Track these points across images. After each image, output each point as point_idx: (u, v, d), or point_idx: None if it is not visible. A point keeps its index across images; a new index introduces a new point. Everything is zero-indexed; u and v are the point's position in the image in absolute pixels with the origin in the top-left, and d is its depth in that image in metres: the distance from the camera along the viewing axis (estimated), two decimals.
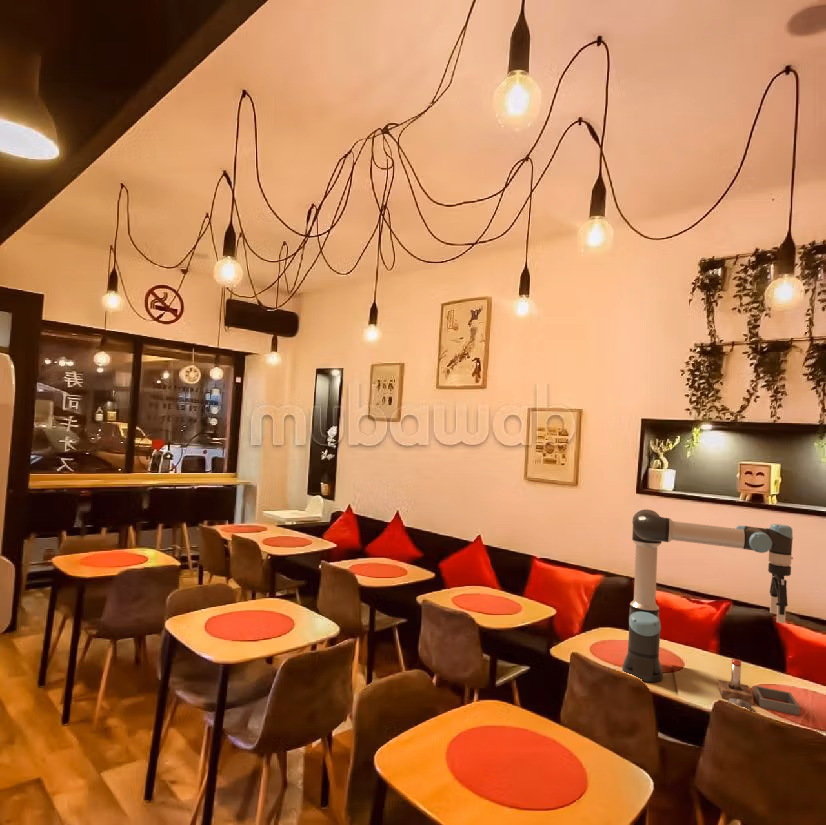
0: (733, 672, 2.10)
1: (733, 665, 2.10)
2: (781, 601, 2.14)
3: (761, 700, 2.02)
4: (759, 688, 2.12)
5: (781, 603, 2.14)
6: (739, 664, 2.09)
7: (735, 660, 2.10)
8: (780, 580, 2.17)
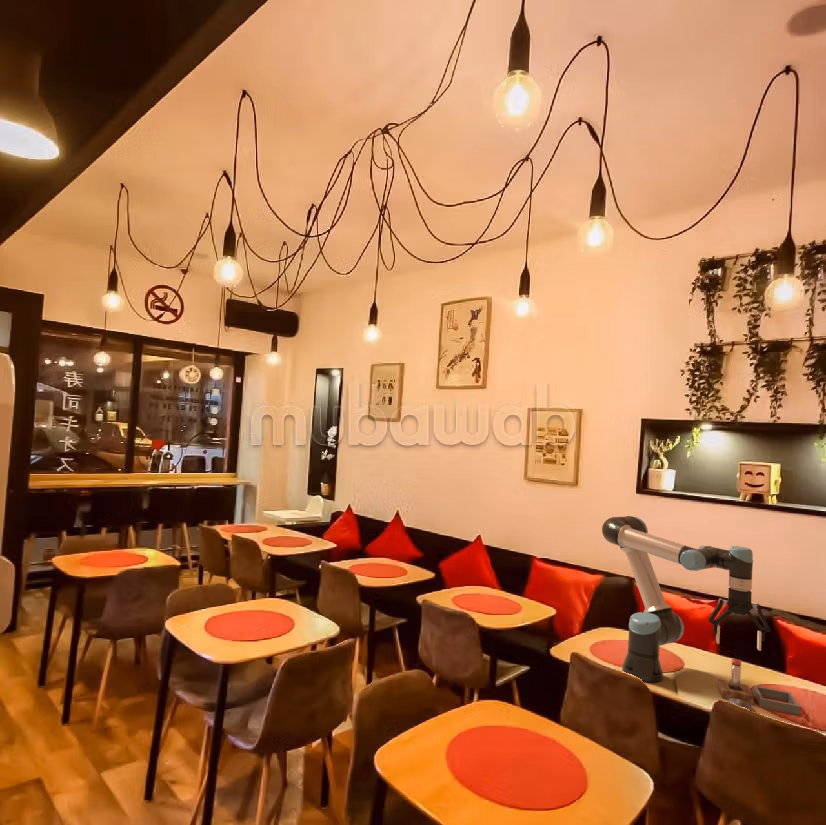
0: (733, 672, 2.10)
1: (733, 665, 2.10)
2: (709, 617, 2.15)
3: (761, 700, 2.02)
4: (759, 688, 2.12)
5: (708, 619, 2.15)
6: (739, 664, 2.09)
7: (735, 660, 2.10)
8: (719, 599, 2.14)
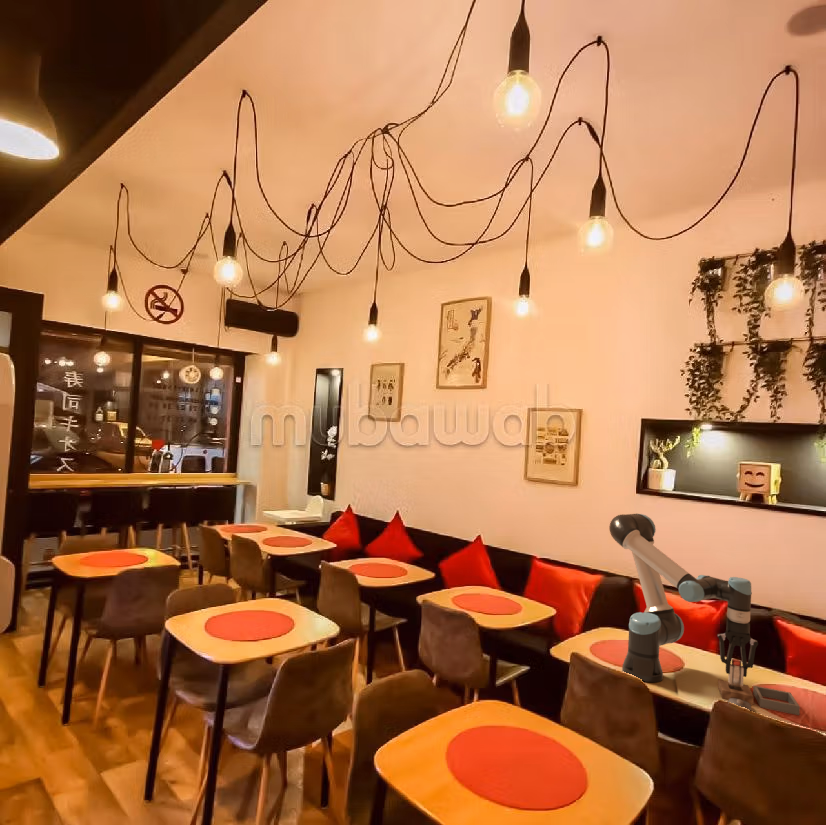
0: (733, 672, 2.10)
1: (733, 665, 2.10)
2: (720, 657, 2.13)
3: (761, 700, 2.02)
4: (759, 688, 2.12)
5: None
6: (739, 664, 2.09)
7: (735, 660, 2.10)
8: None
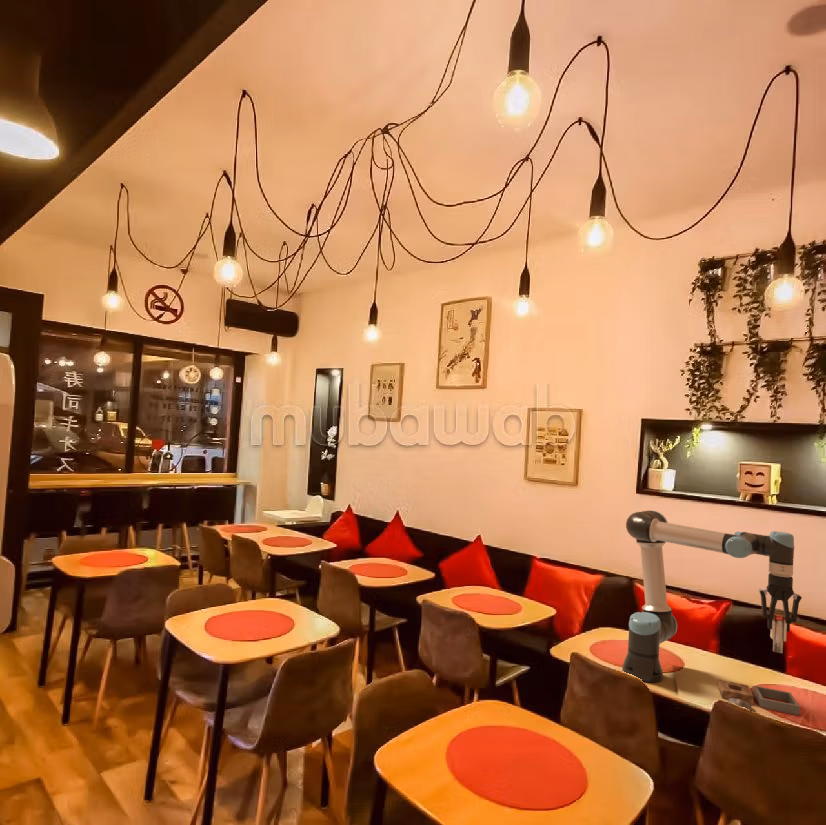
0: (776, 627, 2.06)
1: (776, 620, 2.06)
2: (762, 612, 2.09)
3: (761, 700, 2.02)
4: (759, 688, 2.12)
5: (762, 614, 2.09)
6: (782, 619, 2.05)
7: (777, 615, 2.06)
8: (759, 591, 2.10)
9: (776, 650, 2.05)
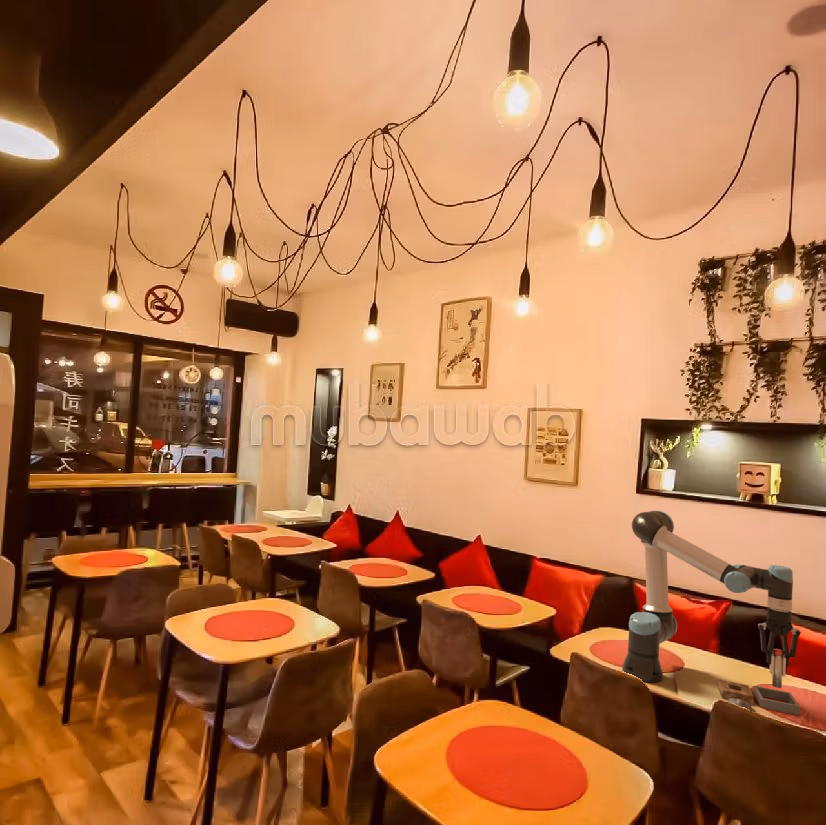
0: (775, 662, 2.05)
1: (775, 654, 2.05)
2: (761, 647, 2.08)
3: (761, 700, 2.02)
4: (759, 688, 2.12)
5: (761, 649, 2.08)
6: (781, 654, 2.04)
7: (777, 650, 2.06)
8: (758, 625, 2.09)
9: (775, 685, 2.04)
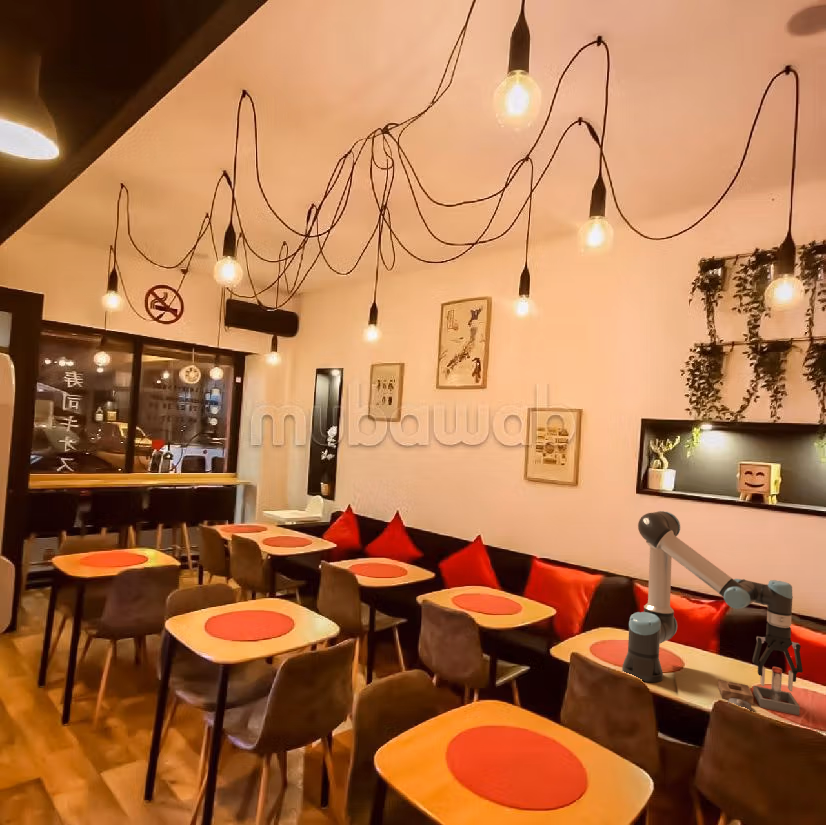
0: (774, 680, 2.05)
1: (774, 672, 2.05)
2: (753, 658, 2.09)
3: (761, 700, 2.02)
4: (759, 688, 2.12)
5: (752, 660, 2.09)
6: (780, 672, 2.04)
7: (776, 668, 2.06)
8: (756, 637, 2.09)
9: None
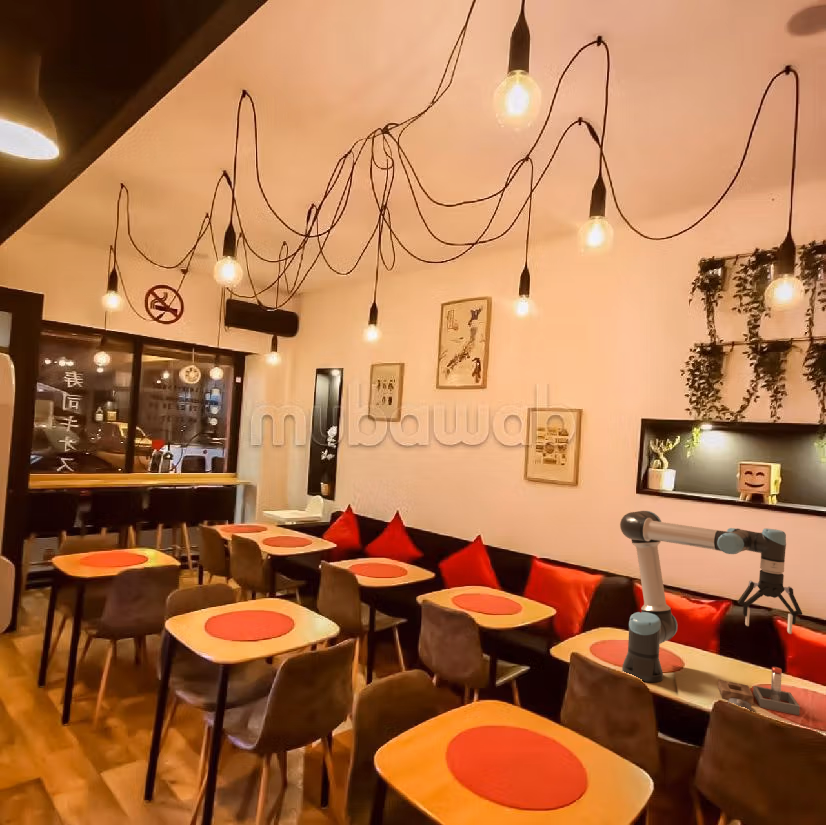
0: (773, 680, 2.05)
1: (774, 673, 2.05)
2: (739, 599, 2.13)
3: (761, 700, 2.02)
4: (759, 688, 2.12)
5: (738, 601, 2.13)
6: (780, 672, 2.04)
7: (775, 668, 2.06)
8: (749, 581, 2.12)
9: None
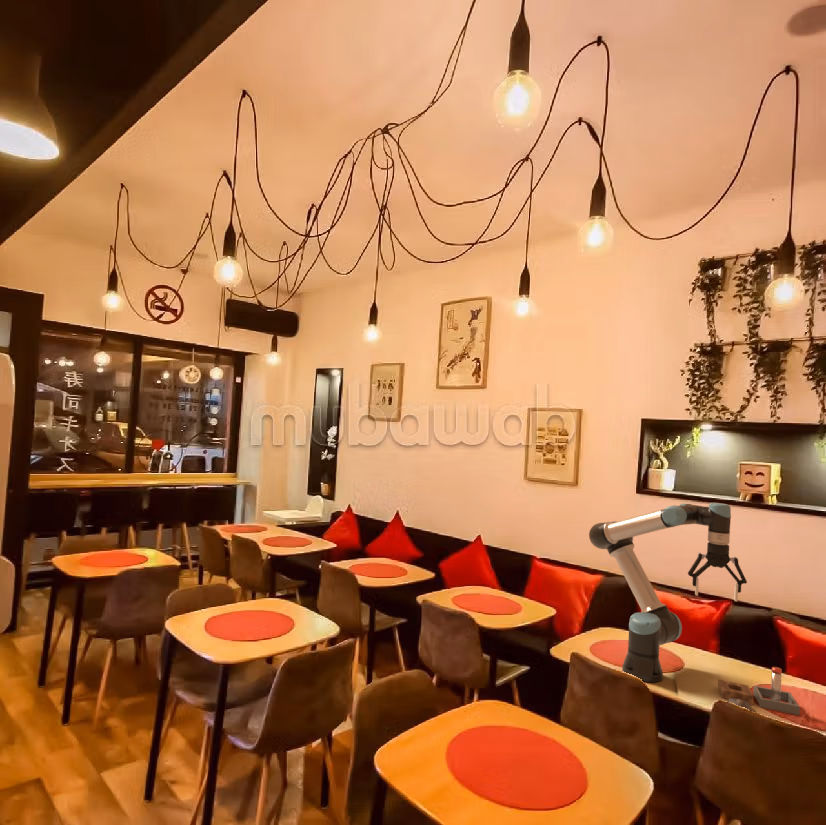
0: (773, 680, 2.05)
1: (774, 673, 2.05)
2: (689, 571, 2.24)
3: (761, 700, 2.02)
4: (759, 688, 2.12)
5: (688, 572, 2.24)
6: (780, 672, 2.04)
7: (775, 668, 2.06)
8: (698, 553, 2.23)
9: None
